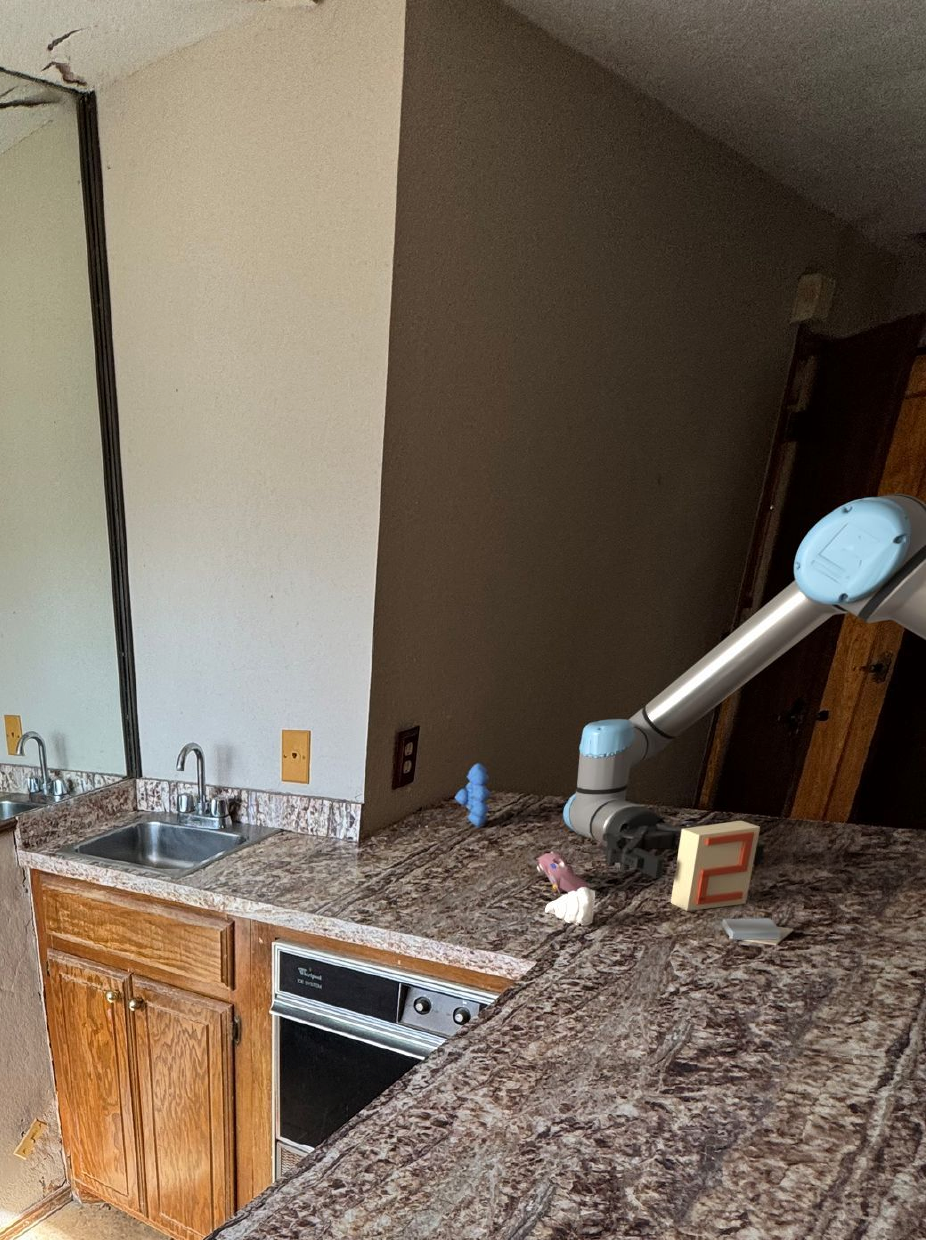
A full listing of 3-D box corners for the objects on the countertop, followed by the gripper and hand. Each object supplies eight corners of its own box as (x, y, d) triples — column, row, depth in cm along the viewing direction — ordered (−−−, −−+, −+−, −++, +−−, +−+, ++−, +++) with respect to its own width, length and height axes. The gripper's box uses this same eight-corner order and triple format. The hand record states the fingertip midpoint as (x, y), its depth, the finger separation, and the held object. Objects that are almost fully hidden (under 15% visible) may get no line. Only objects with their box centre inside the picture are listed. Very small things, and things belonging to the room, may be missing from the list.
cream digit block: (727, 895, 128) (741, 820, 124) (748, 904, 124) (763, 827, 120) (670, 903, 129) (681, 828, 124) (689, 912, 125) (701, 836, 120)
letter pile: (784, 930, 115) (788, 908, 114) (840, 956, 107) (846, 932, 105) (689, 942, 116) (693, 920, 115) (737, 968, 108) (742, 945, 106)
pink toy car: (546, 889, 146) (528, 854, 144) (574, 875, 144) (557, 839, 142) (563, 908, 137) (544, 871, 135) (593, 893, 135) (575, 856, 133)
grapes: (449, 819, 187) (451, 761, 182) (484, 816, 185) (487, 758, 180) (457, 833, 177) (459, 772, 172) (493, 830, 175) (497, 768, 170)
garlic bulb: (544, 917, 131) (547, 882, 129) (590, 918, 128) (594, 882, 126) (543, 930, 127) (546, 894, 125) (591, 931, 124) (595, 894, 122)
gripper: (704, 840, 145) (797, 875, 126) (548, 861, 147) (615, 899, 128) (712, 794, 142) (808, 822, 122) (551, 816, 144) (621, 848, 125)
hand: (709, 861), depth 125 cm, fingers open, 13 cm apart
